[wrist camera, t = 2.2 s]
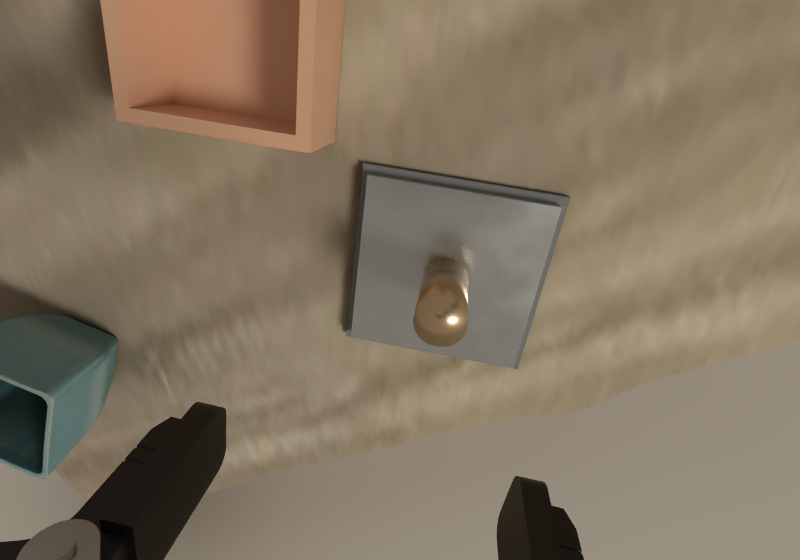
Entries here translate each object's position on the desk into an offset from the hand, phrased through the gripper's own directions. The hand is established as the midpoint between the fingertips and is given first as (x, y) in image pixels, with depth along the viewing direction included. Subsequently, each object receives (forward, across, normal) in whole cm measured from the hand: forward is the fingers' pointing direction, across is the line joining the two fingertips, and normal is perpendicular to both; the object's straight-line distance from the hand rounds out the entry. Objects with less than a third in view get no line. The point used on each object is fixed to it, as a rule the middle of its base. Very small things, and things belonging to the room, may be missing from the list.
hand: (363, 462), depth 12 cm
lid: (+19, -2, +2) cm, 20 cm away
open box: (+20, +12, -10) cm, 25 cm away
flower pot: (+20, +26, +16) cm, 37 cm away
